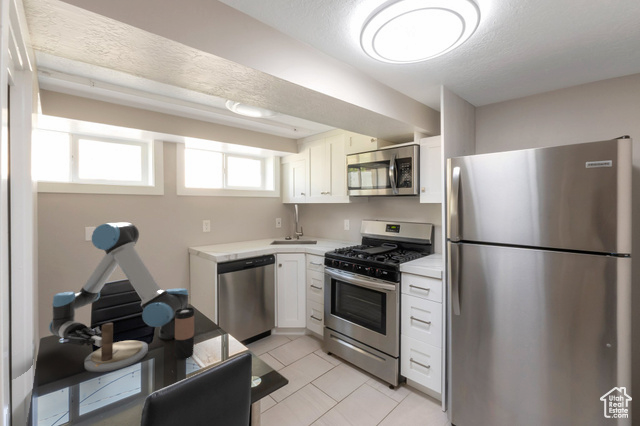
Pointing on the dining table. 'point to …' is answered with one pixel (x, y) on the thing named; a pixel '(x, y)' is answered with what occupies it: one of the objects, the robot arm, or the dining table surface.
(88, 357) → the base
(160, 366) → the dining table surface
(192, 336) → the travel mug
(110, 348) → the dial
